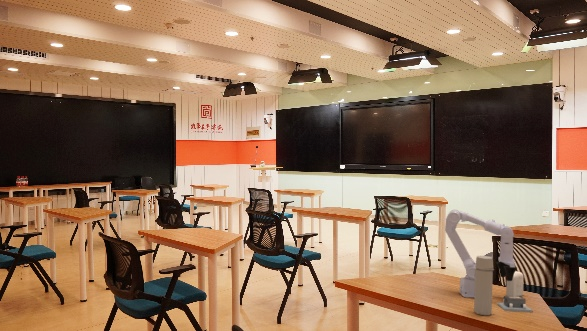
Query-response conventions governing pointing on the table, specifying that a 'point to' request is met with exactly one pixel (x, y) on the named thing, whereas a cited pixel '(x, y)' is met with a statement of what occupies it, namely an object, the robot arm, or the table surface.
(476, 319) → the table surface
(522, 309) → the grey mounting plate
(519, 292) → the photo printer
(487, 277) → the water bottle
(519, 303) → the block
